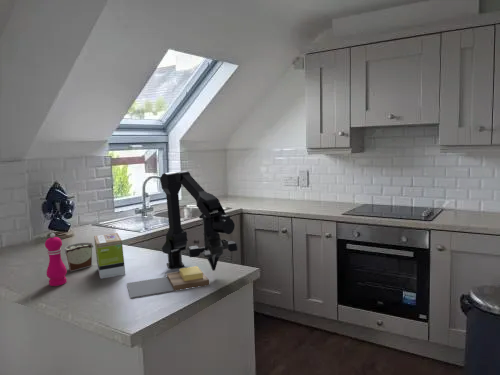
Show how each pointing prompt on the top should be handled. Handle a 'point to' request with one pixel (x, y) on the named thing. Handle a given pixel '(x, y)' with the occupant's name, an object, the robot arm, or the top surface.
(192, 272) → the butter block
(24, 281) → the top surface
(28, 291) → the top surface
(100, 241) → the tea box
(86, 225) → the top surface
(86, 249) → the food container
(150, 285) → the mat
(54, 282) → the pepper mill
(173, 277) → the cutting block
